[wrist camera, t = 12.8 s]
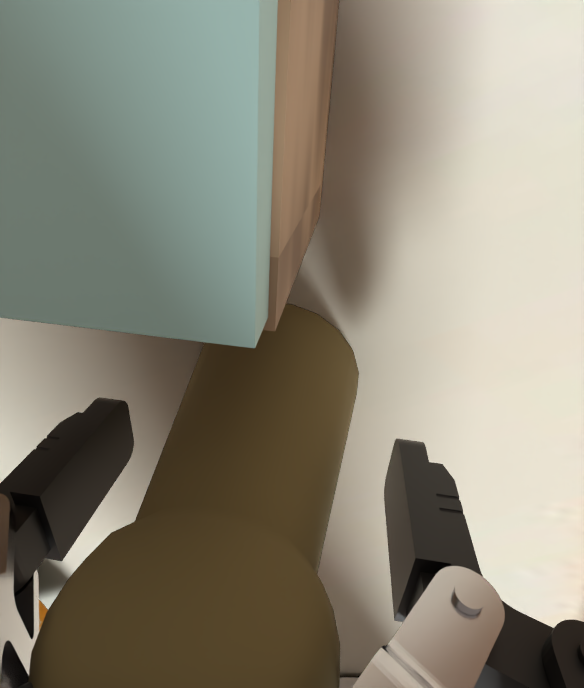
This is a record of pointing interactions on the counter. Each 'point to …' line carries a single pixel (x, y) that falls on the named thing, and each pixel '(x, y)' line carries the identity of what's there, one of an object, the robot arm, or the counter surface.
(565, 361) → the counter surface
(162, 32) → the lid
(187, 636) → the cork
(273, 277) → the crate
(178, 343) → the counter surface
